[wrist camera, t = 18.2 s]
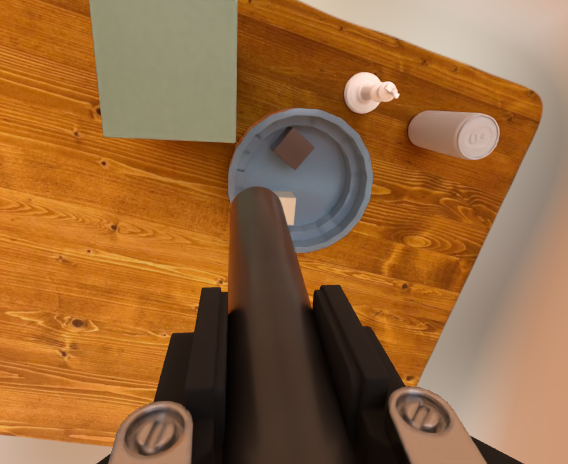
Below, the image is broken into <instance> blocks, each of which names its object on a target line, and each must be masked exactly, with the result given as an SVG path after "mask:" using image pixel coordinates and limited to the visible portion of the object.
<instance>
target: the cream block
mask: <svg viewBox="0 0 568 464" xmlns="http://www.w3.org/2000/svg"><path fill="white" fill-rule="evenodd" d="M273 192H274V193H275V194H276V195H277V196H278V197H279V199H280V201H281V204H282V207H283V211H284V214H285V217H286V221H287V224H288V225H294V216H295V205H296V198H295V196H294V194H293V193H292V192H289V191H273Z"/></svg>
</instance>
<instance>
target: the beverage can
mask: <svg viewBox="0 0 568 464" xmlns="http://www.w3.org/2000/svg"><path fill="white" fill-rule="evenodd" d="M499 134H500V132H499V126H498V124H497V122H496V121H495V119H493V118H492V117H490V116H488V115H486V114H481V113H467V112H447V111H423V112H421V113H419V114H418V115H417V116H415V117H414V118H413V119H412V121H411V122H410V125H409V128H408V136H409V139H410V141H411V142H412V143H413V144H414V145H416V146H418V147H421V148H425V149H429V150H432V151H435V152H439V153H443V154H446V155H450V156H454V157H458V158H462V159H467V160H477V159H481V158H484V157H486V156H487V155H489V154H490V153H491V152H492V151H493V150H494V148H495V147H496V145H497V143H498V140H499Z"/></svg>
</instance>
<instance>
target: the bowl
mask: <svg viewBox="0 0 568 464" xmlns="http://www.w3.org/2000/svg"><path fill="white" fill-rule="evenodd" d="M289 126H291V127H293V128H294V129H295V130H296V131H297V132H299V133H300V134H301V135H302V136H303V137H304V138H305V139H306V140H307V141H308V142H309V143H311V144H312V145H313V146H314V147H315V148H314V149H313V150H312V151H311V153H310V154H309V155H308V156H307V157H306V158H305V160H304V161H303V162H302V163H301V164H300V165H299V167H298V168H297V169H296V170H294V169H293V168H292V167H291V166H290V165H288V164H287V163H286V162H285V161H284V160H283V159H282V158H280V157H279V156H278V155H277V154H276V153H275V152H274V151H273V150H272V149H271V146H272V145H273V144H274V143H275V141H276V140H277V139H278V138H279V137H280V135H281V134H282V133H283V132H284V131H285V129H286V128H287V127H289ZM372 183H373V172H372V166H371V160H370V155H369V152H368V150H367V149H366V147H365V145H364V143H363V141H362V139H361V137H360V136H359V134H358V133H357V132H356V131H355V130H354V129H353V128H351V127H350V126H349V125H348V124H347V123H346V122H345V121H344V120H343V119H341V118H339V117H337V116H334V115H332V114H330V113H327V112H325V111H322V110H320V109H311V108H295V107H289V108H285V109H281V110H278V111H274V112H271V113H268V114H266V115H265V116H263V117H262V118H260V119H259V120H257V121H256V122H255V123H253V124H252V125H250V126H249V127H248V129H247V130H246V131H245V133H244V134H243V135H242V137H241V138H240V139H239V141H238V142H237V143H236V145H235V148H234V151H233V154H232V157H231V160H230V163H229V169H228V196H229V199H230V202H231V204H232V202H233V200H234V198H235V197H236V195H237V194H238V193H240V192H241V191H242V190H244V189H246V188H249V187H255V186H259V187H264V188H267V189H269V190H271V191H289V192H292V193H293V194H294V196H295V198H296V205H295V216H294V225H288V228H289V231H290V235H291V238H292V242H293V245H294V248H295V252H296V253H309V252H312V251H316V250H319V249H323V248H326V247H329V246H330V245H332V244H333V243H335V242H337V241H338V240H340V239H341V238H343V237H344V236H346V235H347V234H348V233H349V232H350V231H351V229H352V228H353V227H354V226H355V225H356V224H357V223H358V222H359V220H360V219H361V218H362V215H363V213H364V211H365V209H366V207H367V205H368V203H369V200H370V197H371V190H372Z"/></svg>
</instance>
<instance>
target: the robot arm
mask: <svg viewBox="0 0 568 464" xmlns="http://www.w3.org/2000/svg"><path fill="white" fill-rule="evenodd" d="M312 311H313V314H314V317H315V321H316V324H317V328H318V331H319V335H320V338H321V342H322V345H323V348H324V352H325V355H326V359H327V362H328V366H329V369H330V373H331V376H332V380H333V383H334V386H335V390H336V393H337V397H338V400H339V404H340V407H341V411H342V414H343V417H344V421H345V424H346V428H347V431H348V435H349V438H350V442H351V445H352V448H353V452H354V455H355V459H356V462H357V464H523V463H521V462H519V461H517V460H515V459H514V458H512V457H510V456H508V455H506V454H504V453H502V452H500V451H498V450H496V449H495V448H492V447H491V446H488V445H487V444H485V443H483V442H481V441H479V440H477V439H475V438H473V437H471V436H470V435H469V434H468V432H467V430H466V429H465V427H464V426H463V424H462V422H461V421H460V419H459V418H458V416H457V414H456V413H455V411H454V410H453V409H452V407H451V406H450V405H449V404H448V402H446V401H445V400H444V399H443V398H441V397H440V396H439V395H437V394H435V393H433V392H431V391H429V390H426V389H423V388H420V387H411V386H408V387H406V386H405V385H404V383H403V381H402V380H401V378H400V376H399V374H398V373H397V371H396V369H395V368H394V366H393V364H392V362H391V361H390V359H389V357H388V356H387V354H386V352H385V350H384V349H383V347H382V345H381V344H380V342H379V340H378V338H377V337H376V335H375V333H374V332H373V330H372V329H371V328H370V327H368V326H362V324H361V323H360V321H359V319H358V317H357V315H356V314H355V312H354V310H353V308H352V306H351V305H350V303H349V301H348V299H347V297H346V295H345V294H344V292H343V290H342V288H341V286H340V285H321V287H320V290H315V291H314V296H313V308H312ZM227 341H228V292H221V287H211V288H202V291H201V296H200V302H199V308H198V313H197V319H196V325H195V331H194V332H193V333H173V334H172V336H171V339H170V343H169V346H168V350H167V354H166V358H165V361H164V365H163V369H162V373H161V376H160V380H159V384H158V387H157V391H156V395H155V399H154V402H153V403H149V404H147V405H145V406H142V407H140V408H138V409H137V410H135V411H134V412H132V413H131V414H130V415H128V417H127V418H126V419H125V420H124V421H123V422H122V424H121V425H120V427H119V430H118V432H117V434H116V438H115V441H114V445H113V449H112V452H111V454H109V455H108V456H107V457H105V458H104V459H103V460H101V461H100V462H98V463H97V464H222V452H223V443H224V440H225V415H226V378H227Z"/></svg>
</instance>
